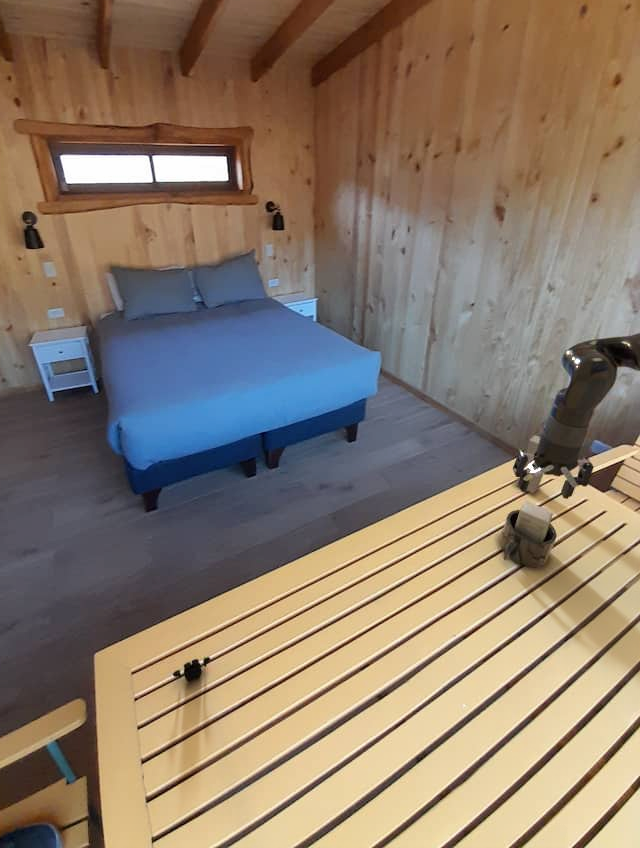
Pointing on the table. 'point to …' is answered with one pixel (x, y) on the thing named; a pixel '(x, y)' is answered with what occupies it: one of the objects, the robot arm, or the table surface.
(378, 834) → the table surface
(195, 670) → the wireless earbuds
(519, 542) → the mug
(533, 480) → the vintage mobile phone
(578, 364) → the robot arm
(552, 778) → the table surface
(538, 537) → the cosmetic box
